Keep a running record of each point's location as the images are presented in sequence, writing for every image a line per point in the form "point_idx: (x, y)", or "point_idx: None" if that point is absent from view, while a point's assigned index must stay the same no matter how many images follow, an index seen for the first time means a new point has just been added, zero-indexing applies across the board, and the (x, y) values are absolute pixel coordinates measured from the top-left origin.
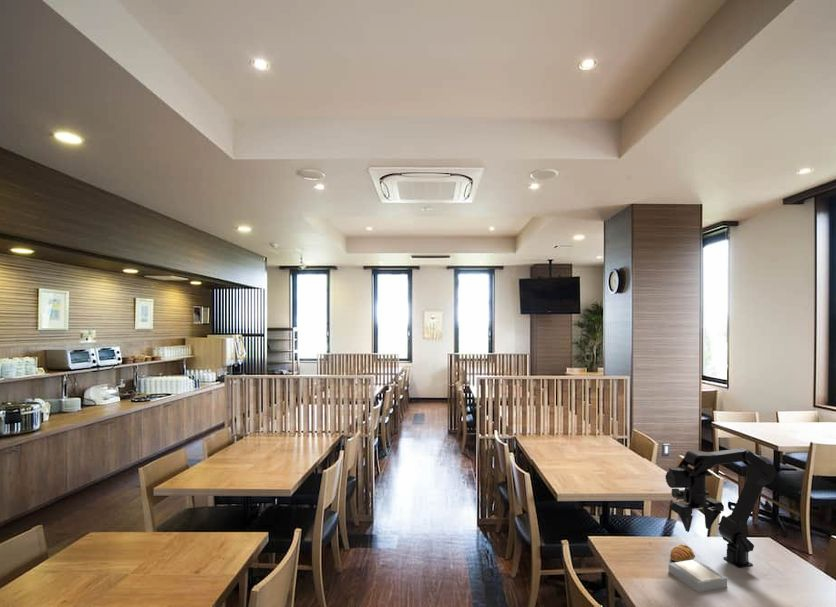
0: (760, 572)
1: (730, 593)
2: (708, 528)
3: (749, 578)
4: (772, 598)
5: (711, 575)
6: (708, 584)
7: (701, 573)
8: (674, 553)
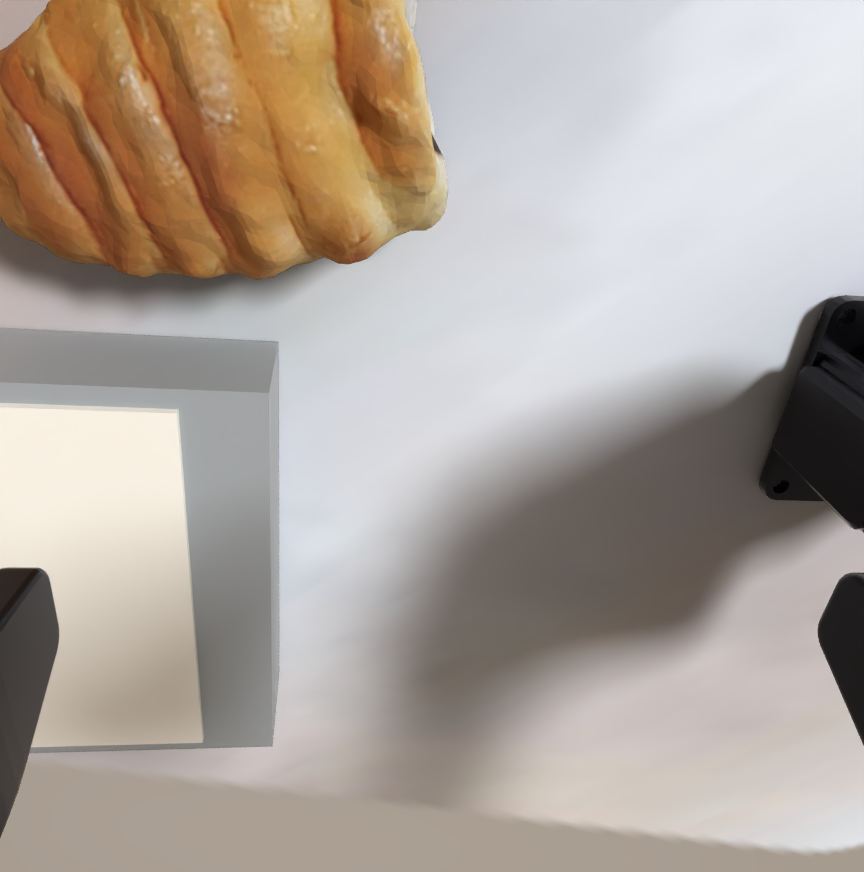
0: None
1: None
2: (827, 655)
3: (637, 621)
4: (500, 807)
5: (125, 705)
6: None
7: None
8: (29, 130)
